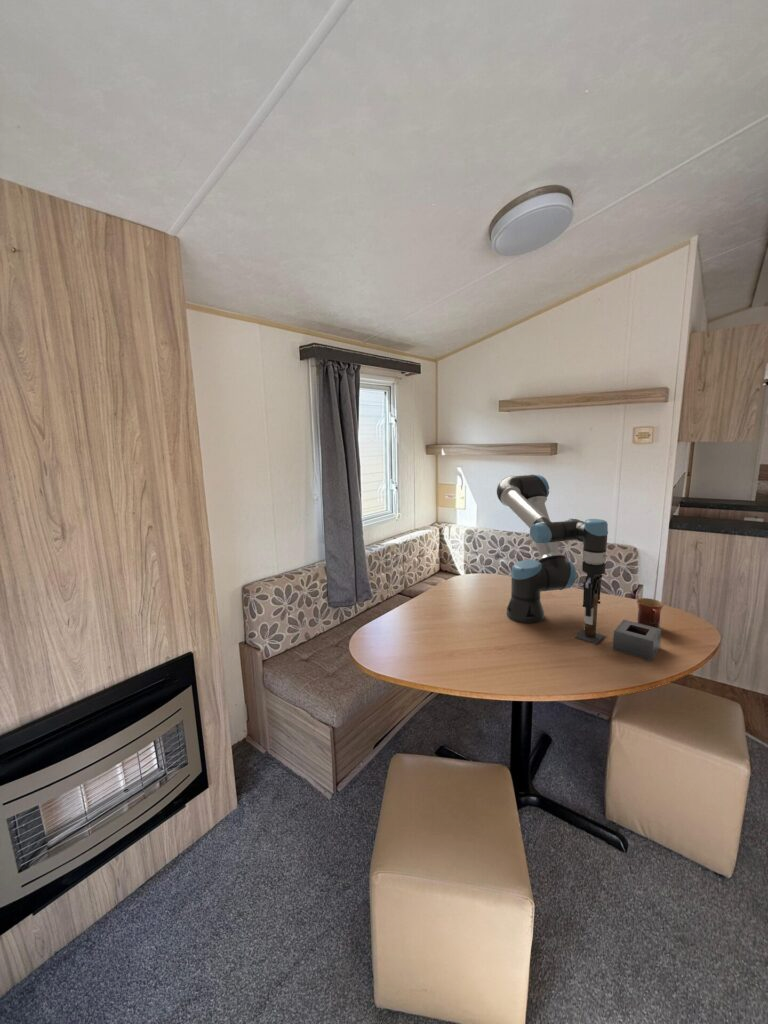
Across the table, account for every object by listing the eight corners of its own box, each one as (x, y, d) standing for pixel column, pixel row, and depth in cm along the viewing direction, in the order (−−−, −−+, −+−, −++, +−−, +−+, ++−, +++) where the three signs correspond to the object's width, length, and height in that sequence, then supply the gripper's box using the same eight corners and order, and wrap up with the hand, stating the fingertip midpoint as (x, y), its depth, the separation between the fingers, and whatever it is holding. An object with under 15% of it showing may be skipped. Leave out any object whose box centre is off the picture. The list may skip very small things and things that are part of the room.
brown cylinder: (582, 634, 155) (585, 594, 153) (586, 630, 158) (588, 591, 155) (593, 637, 153) (596, 596, 150) (597, 633, 155) (599, 593, 153)
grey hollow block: (612, 649, 147) (613, 630, 145) (622, 637, 155) (623, 619, 154) (651, 660, 138) (653, 641, 137) (659, 647, 147) (661, 629, 146)
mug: (631, 621, 168) (633, 597, 166) (655, 622, 166) (657, 598, 164) (643, 635, 156) (645, 609, 154) (669, 636, 154) (671, 610, 152)
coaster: (574, 638, 156) (574, 636, 156) (582, 630, 161) (582, 629, 161) (597, 644, 150) (597, 643, 150) (604, 636, 156) (604, 635, 156)
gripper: (597, 569, 142) (593, 632, 146) (612, 558, 154) (608, 617, 158) (574, 565, 147) (571, 626, 151) (590, 554, 159) (587, 611, 163)
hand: (590, 621), depth 155 cm, fingers closed on brown cylinder, 4 cm apart
